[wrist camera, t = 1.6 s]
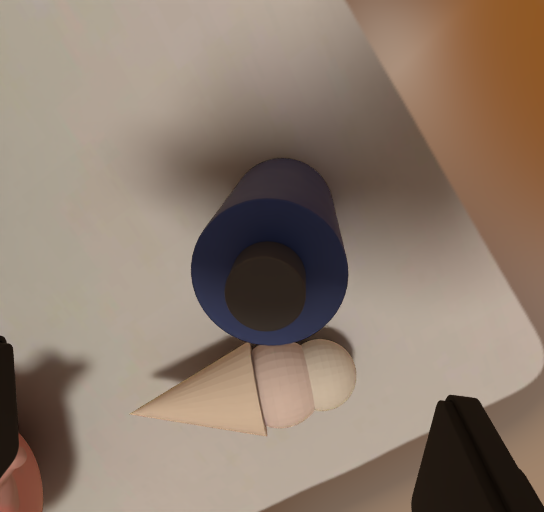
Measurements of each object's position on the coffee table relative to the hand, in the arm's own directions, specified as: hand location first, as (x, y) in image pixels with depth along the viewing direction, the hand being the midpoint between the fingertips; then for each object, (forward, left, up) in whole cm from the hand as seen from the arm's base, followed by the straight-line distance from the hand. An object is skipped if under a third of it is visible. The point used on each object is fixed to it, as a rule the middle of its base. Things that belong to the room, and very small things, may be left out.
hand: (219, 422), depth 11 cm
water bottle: (0, 0, -22) cm, 22 cm away
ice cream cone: (+1, +12, -22) cm, 25 cm away
